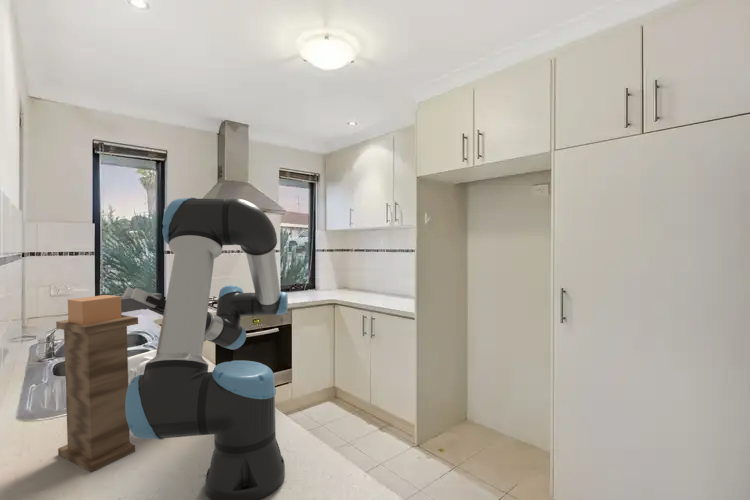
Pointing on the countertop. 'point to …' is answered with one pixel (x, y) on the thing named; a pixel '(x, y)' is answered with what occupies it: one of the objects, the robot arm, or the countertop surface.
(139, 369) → the cable organizer
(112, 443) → the wooden pedestal
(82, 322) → the plug
